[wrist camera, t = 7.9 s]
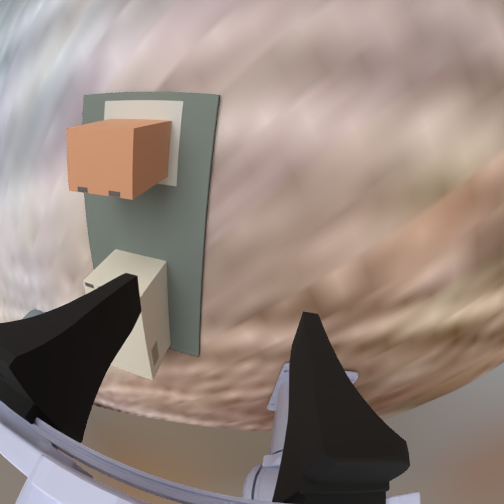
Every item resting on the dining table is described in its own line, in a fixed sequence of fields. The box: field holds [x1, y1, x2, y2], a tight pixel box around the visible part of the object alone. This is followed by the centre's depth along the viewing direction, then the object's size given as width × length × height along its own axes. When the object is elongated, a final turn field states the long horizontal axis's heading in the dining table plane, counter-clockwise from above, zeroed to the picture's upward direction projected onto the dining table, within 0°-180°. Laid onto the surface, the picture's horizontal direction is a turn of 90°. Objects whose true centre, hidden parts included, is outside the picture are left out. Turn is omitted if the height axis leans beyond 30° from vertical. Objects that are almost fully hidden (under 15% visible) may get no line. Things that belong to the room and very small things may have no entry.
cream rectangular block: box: [83, 249, 171, 380], centre depth 23 cm, size 10×5×5 cm, turn 172°
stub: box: [67, 119, 171, 200], centre depth 16 cm, size 4×5×5 cm
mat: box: [82, 92, 220, 357], centre depth 22 cm, size 24×11×1 cm, turn 172°
